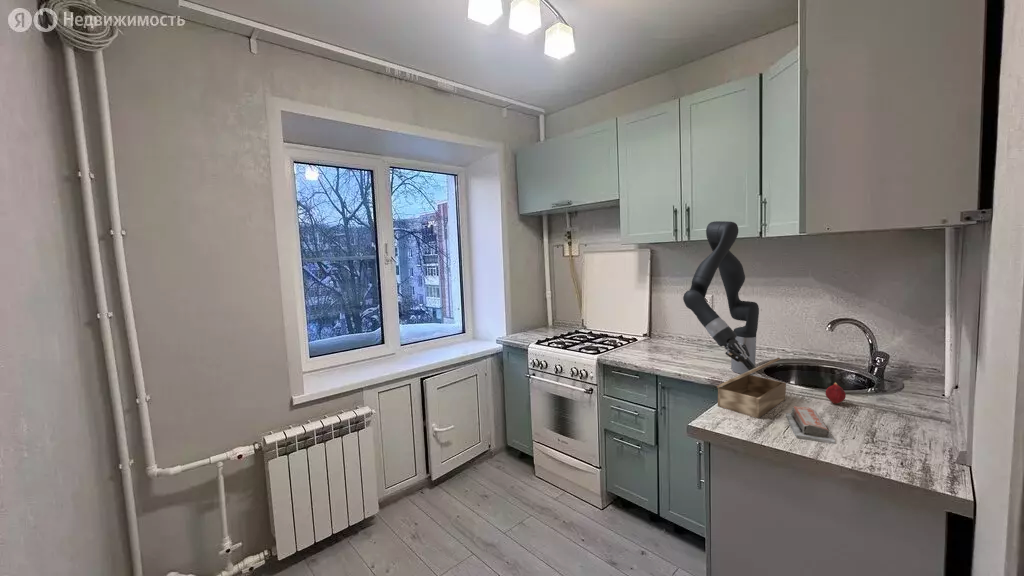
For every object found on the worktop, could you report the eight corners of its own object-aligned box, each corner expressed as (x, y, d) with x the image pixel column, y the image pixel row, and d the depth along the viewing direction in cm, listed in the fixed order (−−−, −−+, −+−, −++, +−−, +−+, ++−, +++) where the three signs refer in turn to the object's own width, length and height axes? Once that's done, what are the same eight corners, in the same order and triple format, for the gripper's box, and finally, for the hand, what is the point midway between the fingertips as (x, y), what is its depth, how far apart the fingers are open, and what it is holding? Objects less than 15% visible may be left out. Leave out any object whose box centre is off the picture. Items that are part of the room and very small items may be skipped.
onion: (849, 406, 148) (850, 384, 147) (835, 407, 147) (837, 386, 146) (834, 400, 154) (835, 379, 153) (821, 401, 153) (822, 380, 152)
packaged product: (785, 403, 141) (820, 407, 137) (784, 416, 142) (819, 421, 138) (796, 425, 125) (836, 430, 121) (795, 439, 126) (835, 445, 121)
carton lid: (717, 388, 150) (716, 385, 150) (747, 373, 165) (746, 371, 165) (752, 373, 140) (750, 370, 140) (780, 359, 155) (779, 357, 155)
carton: (717, 406, 151) (718, 388, 150) (746, 390, 165) (746, 374, 165) (758, 418, 140) (759, 399, 139) (785, 400, 154) (786, 383, 153)
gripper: (719, 328, 153) (752, 367, 145) (735, 323, 161) (768, 360, 153) (705, 339, 158) (736, 377, 150) (721, 334, 166) (752, 370, 157)
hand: (752, 368), depth 151 cm, fingers closed
